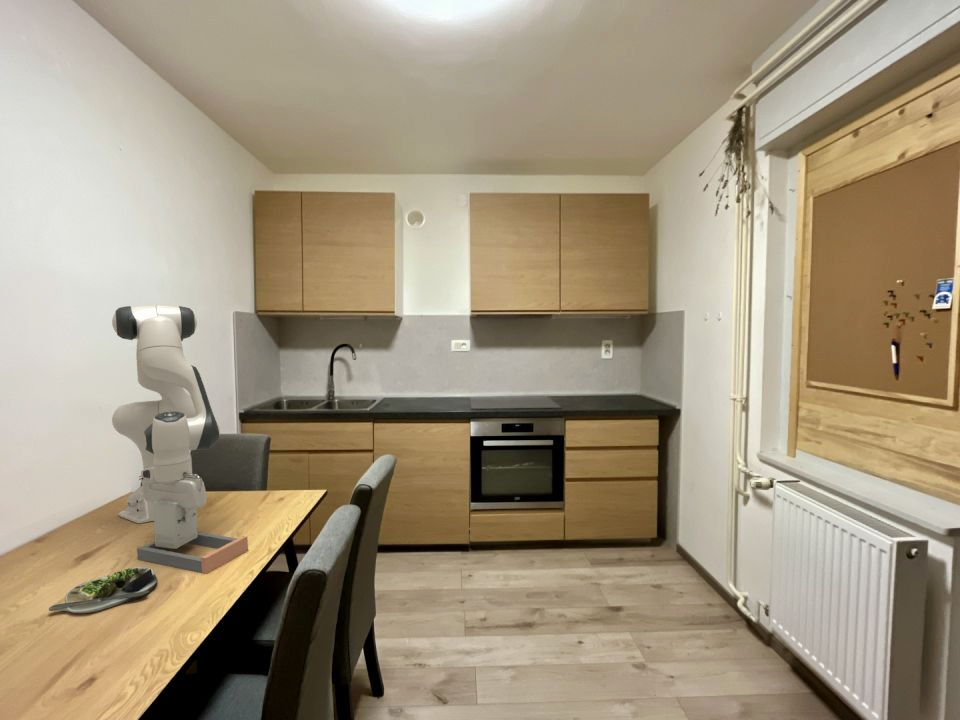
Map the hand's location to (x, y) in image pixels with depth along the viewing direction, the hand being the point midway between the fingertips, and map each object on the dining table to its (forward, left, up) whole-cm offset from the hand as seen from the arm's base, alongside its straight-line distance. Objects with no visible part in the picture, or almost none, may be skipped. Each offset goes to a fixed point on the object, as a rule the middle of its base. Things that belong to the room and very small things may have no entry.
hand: (176, 519), depth 128 cm
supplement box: (0, 0, -7) cm, 7 cm away
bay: (+7, 0, -9) cm, 11 cm away
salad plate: (+6, -20, -10) cm, 23 cm away
